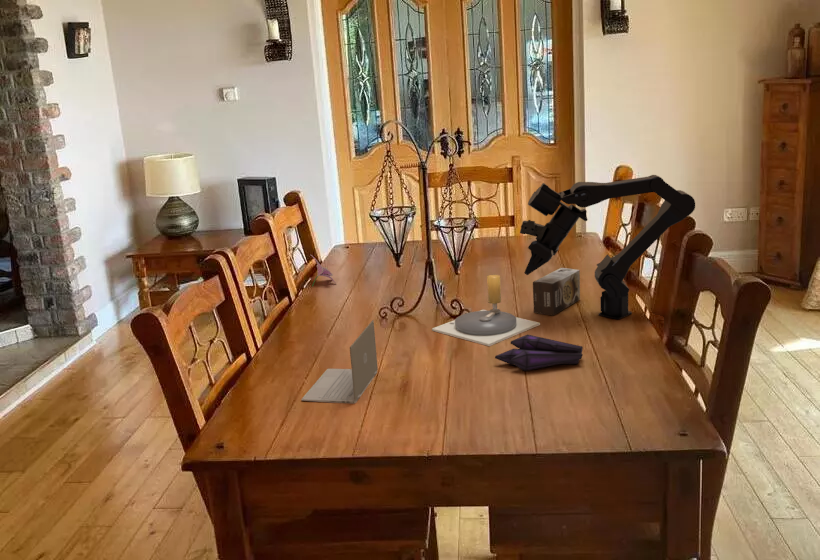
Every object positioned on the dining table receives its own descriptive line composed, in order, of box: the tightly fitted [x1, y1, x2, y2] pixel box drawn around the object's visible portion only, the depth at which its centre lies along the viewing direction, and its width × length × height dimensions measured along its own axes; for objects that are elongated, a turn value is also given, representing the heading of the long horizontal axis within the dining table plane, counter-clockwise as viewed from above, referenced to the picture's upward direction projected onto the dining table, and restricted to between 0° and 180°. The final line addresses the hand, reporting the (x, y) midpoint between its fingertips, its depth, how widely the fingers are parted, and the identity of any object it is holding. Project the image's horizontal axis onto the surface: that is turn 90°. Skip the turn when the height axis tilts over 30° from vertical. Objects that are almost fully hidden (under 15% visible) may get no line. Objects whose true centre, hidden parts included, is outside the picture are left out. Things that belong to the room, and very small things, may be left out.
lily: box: [310, 254, 337, 287], centre depth 269 cm, size 12×12×10 cm
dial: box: [454, 274, 517, 335], centre depth 215 cm, size 16×16×12 cm
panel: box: [431, 309, 541, 347], centre depth 217 cm, size 20×20×1 cm
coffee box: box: [532, 267, 581, 316], centre depth 229 cm, size 9×6×16 cm
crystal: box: [494, 333, 584, 372], centre depth 189 cm, size 7×12×20 cm
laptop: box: [300, 319, 379, 404], centre depth 183 cm, size 18×12×13 cm
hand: (525, 273), depth 218 cm, fingers closed
